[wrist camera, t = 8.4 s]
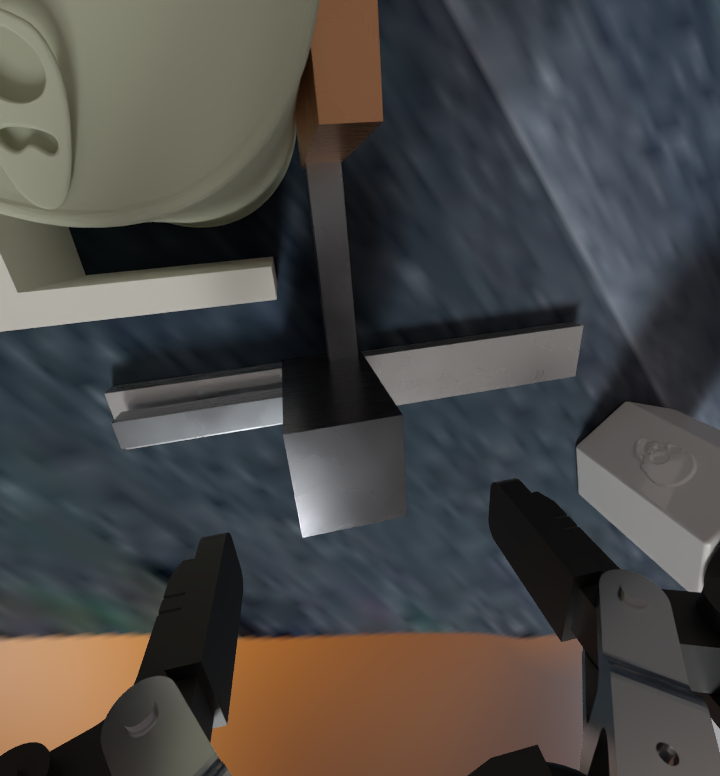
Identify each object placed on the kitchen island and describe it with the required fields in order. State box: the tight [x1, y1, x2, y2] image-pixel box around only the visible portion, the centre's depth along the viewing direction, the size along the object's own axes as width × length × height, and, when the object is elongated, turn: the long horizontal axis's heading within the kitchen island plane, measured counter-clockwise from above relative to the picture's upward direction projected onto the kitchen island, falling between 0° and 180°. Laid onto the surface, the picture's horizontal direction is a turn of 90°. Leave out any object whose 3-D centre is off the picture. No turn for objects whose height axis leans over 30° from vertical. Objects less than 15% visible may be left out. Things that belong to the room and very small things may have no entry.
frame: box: [0, 214, 277, 332], centre depth 13 cm, size 10×14×5 cm, turn 4°
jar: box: [576, 402, 720, 592], centre depth 23 cm, size 9×8×12 cm
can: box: [0, 0, 319, 228], centre depth 10 cm, size 9×9×12 cm
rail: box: [105, 322, 583, 449], centre depth 21 cm, size 26×3×1 cm, turn 94°
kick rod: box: [112, 0, 407, 537], centre depth 14 cm, size 12×18×8 cm
